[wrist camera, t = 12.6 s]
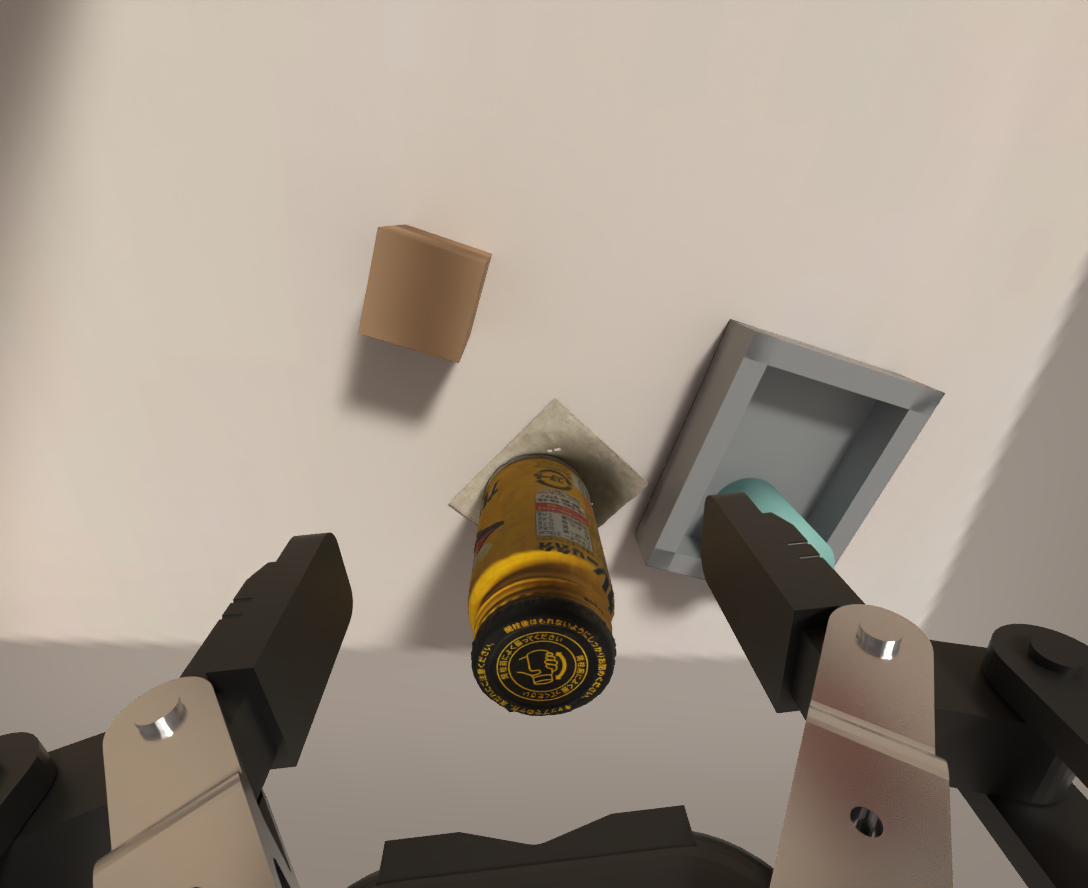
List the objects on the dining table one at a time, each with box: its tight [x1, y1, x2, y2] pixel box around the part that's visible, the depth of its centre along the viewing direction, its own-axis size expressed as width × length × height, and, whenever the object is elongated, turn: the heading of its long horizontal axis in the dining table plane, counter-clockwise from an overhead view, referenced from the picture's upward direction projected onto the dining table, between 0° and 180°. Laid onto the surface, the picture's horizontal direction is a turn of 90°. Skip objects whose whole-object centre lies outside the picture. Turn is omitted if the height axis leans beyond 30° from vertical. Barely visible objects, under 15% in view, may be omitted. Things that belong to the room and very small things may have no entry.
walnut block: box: [359, 225, 492, 363], centre depth 22 cm, size 4×4×5 cm
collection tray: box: [635, 319, 945, 580], centre depth 27 cm, size 10×13×3 cm
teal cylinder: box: [718, 478, 835, 569], centre depth 27 cm, size 4×4×6 cm
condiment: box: [449, 399, 648, 716], centre depth 24 cm, size 7×8×12 cm
